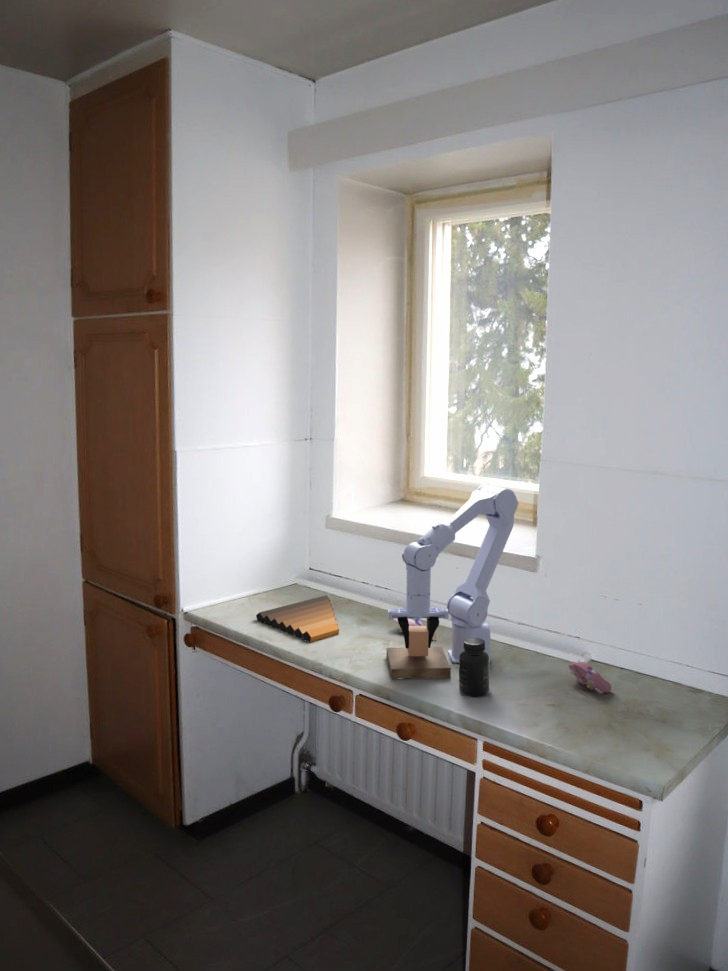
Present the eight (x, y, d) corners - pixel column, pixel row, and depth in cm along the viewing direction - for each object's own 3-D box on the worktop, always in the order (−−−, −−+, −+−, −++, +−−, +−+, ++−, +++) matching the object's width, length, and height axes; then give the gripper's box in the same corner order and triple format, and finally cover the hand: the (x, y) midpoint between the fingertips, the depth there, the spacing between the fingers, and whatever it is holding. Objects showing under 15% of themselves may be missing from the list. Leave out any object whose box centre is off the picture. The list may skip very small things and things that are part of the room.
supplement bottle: (479, 683, 188) (480, 634, 186) (494, 695, 182) (496, 644, 180) (453, 688, 186) (454, 637, 184) (467, 699, 179) (468, 648, 177)
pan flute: (323, 604, 250) (256, 622, 233) (322, 593, 249) (256, 610, 232) (379, 624, 232) (311, 644, 215) (379, 612, 231) (311, 632, 214)
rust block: (425, 649, 200) (425, 625, 199) (428, 655, 195) (428, 631, 194) (407, 649, 200) (407, 626, 199) (409, 656, 195) (409, 632, 194)
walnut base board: (441, 656, 205) (441, 646, 205) (450, 678, 191) (450, 667, 191) (386, 657, 204) (386, 647, 204) (391, 679, 191) (391, 669, 190)
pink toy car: (572, 685, 191) (562, 662, 189) (587, 674, 192) (577, 651, 190) (599, 702, 182) (588, 677, 180) (614, 690, 183) (604, 666, 181)
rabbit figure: (439, 644, 218) (401, 621, 229) (442, 623, 216) (404, 602, 227) (423, 649, 214) (385, 626, 224) (426, 629, 212) (387, 606, 223)
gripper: (445, 587, 199) (444, 640, 201) (386, 588, 198) (386, 641, 201) (450, 596, 192) (449, 650, 194) (389, 596, 191) (389, 651, 194)
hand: (417, 646), depth 197 cm, fingers closed on rust block, 5 cm apart
